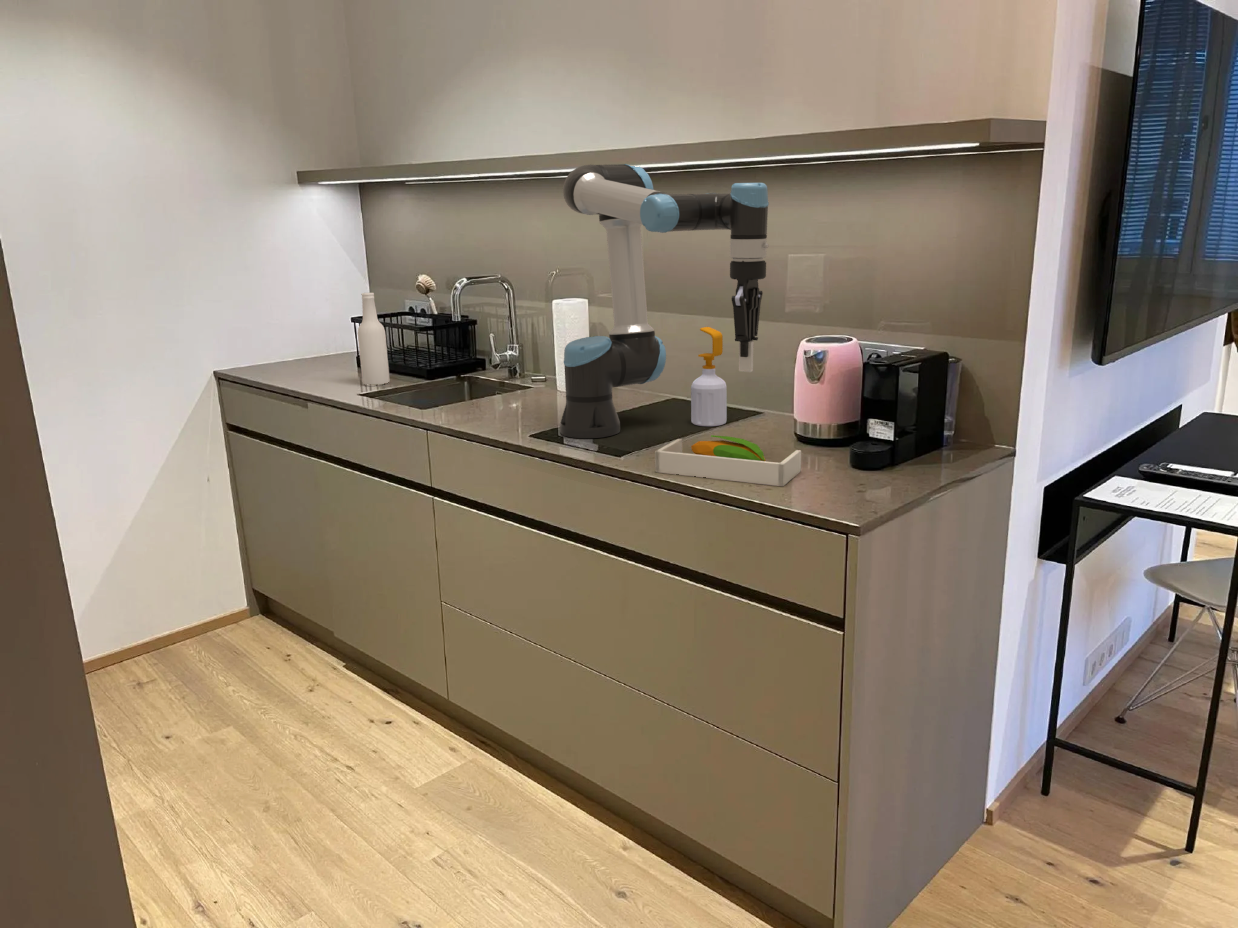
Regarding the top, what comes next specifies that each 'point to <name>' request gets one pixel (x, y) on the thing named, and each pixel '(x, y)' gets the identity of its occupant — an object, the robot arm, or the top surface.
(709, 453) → the corn
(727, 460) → the tray
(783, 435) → the top surface
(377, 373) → the alcohol
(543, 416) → the top surface
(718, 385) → the soap bottle
